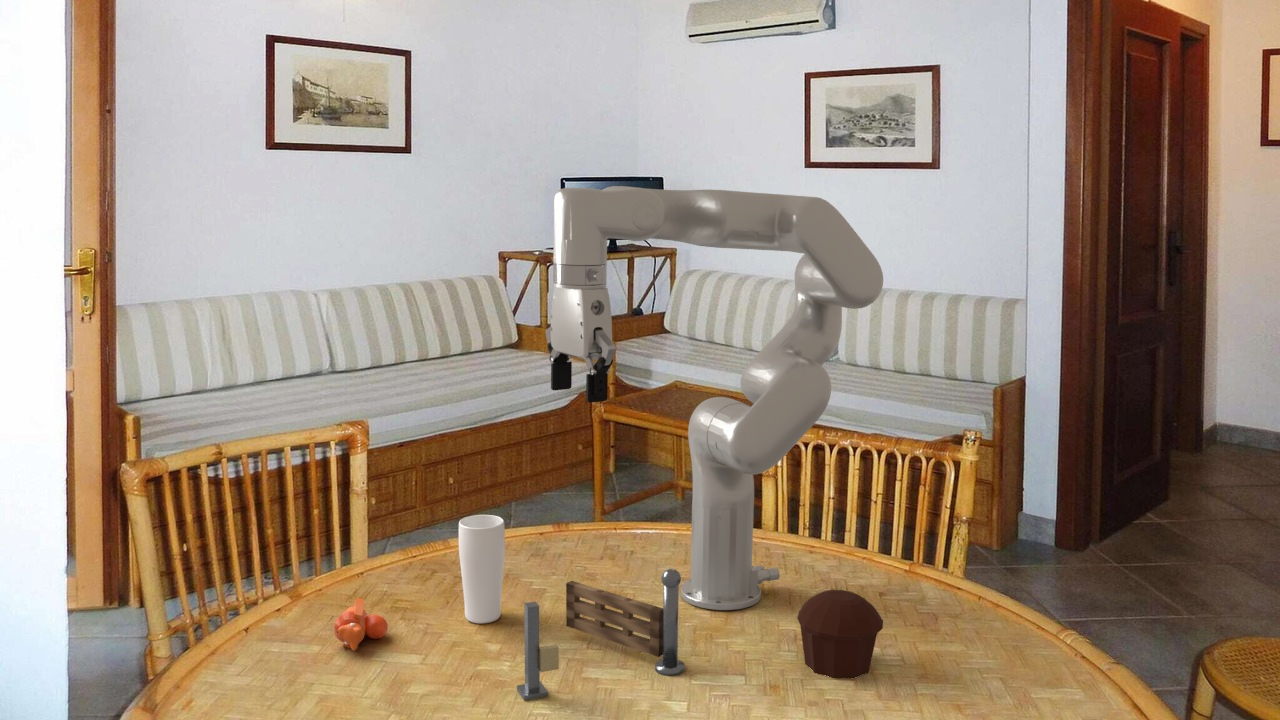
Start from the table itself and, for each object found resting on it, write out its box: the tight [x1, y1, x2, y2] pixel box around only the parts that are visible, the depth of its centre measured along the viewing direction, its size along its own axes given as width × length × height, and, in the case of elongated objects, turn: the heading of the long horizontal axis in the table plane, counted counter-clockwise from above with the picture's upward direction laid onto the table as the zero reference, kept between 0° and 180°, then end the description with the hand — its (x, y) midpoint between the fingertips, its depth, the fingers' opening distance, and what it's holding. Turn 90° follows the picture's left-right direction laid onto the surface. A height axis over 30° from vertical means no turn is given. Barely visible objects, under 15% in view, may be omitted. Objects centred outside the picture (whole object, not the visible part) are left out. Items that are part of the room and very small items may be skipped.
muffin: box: [796, 589, 884, 679], centre depth 156 cm, size 12×11×10 cm
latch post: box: [516, 601, 560, 701], centre depth 146 cm, size 5×3×12 cm
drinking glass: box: [457, 514, 506, 624], centre depth 170 cm, size 7×7×15 cm
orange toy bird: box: [333, 597, 389, 651], centre depth 163 cm, size 5×8×12 cm
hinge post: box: [654, 568, 686, 677], centre depth 153 cm, size 4×4×14 cm
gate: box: [565, 580, 663, 658], centre depth 160 cm, size 16×1×6 cm, turn 53°
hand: (578, 395), depth 165 cm, fingers open, 9 cm apart
